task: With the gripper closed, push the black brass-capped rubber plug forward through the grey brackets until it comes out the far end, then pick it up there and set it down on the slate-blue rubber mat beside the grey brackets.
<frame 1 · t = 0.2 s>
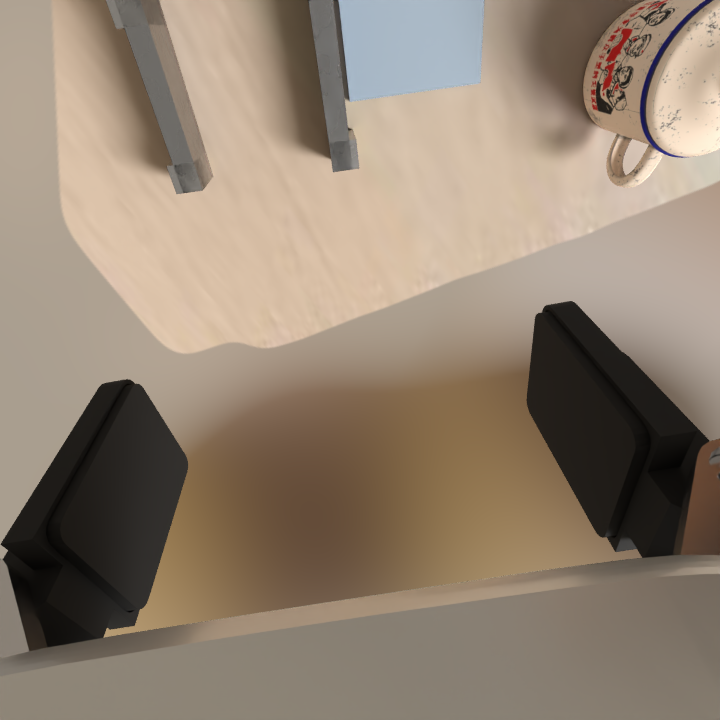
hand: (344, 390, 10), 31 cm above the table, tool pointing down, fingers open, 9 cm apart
teacup with lid: (624, 90, 34), on the table
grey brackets: (253, 83, 32), on the table
mat: (411, 8, 30), on the table
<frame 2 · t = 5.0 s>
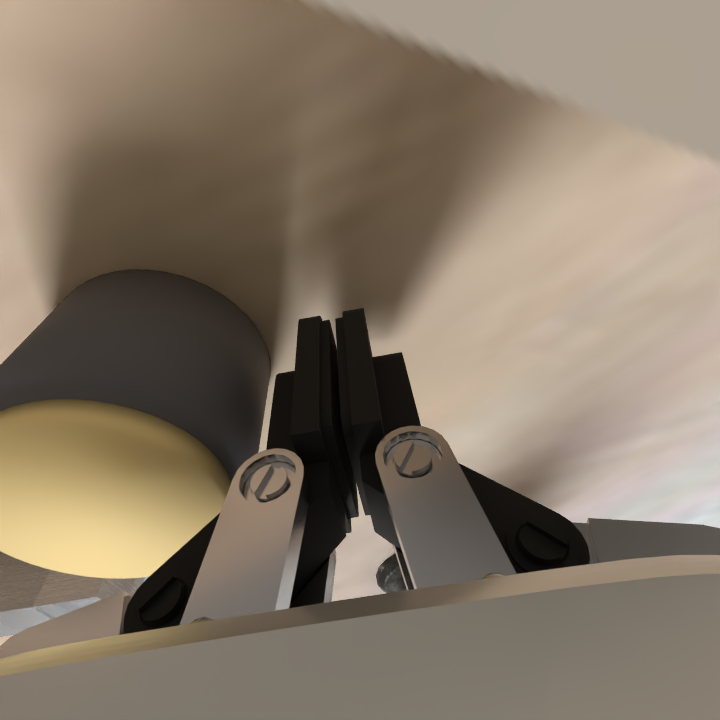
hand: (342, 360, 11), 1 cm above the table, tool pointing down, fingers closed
plug: (166, 363, 13), on the table, touching gripper
dark grey turned post: (427, 568, 22), on the table
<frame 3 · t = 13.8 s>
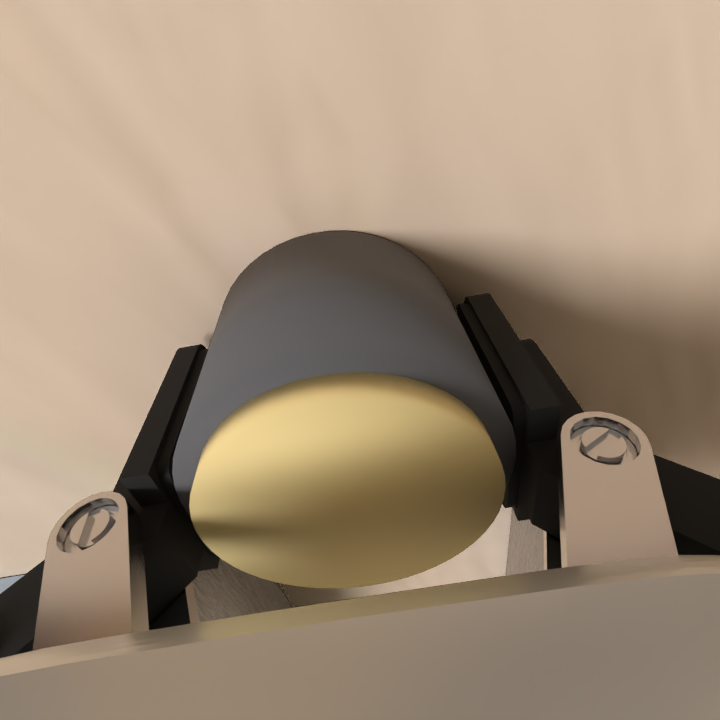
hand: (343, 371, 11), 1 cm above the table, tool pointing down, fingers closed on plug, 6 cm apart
plug: (338, 343, 11), on the table, touching gripper
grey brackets: (387, 545, 17), on the table
when the fingers open (2 cm above the table, at t = 19.2 s): plug stays where it is, resting on mat.
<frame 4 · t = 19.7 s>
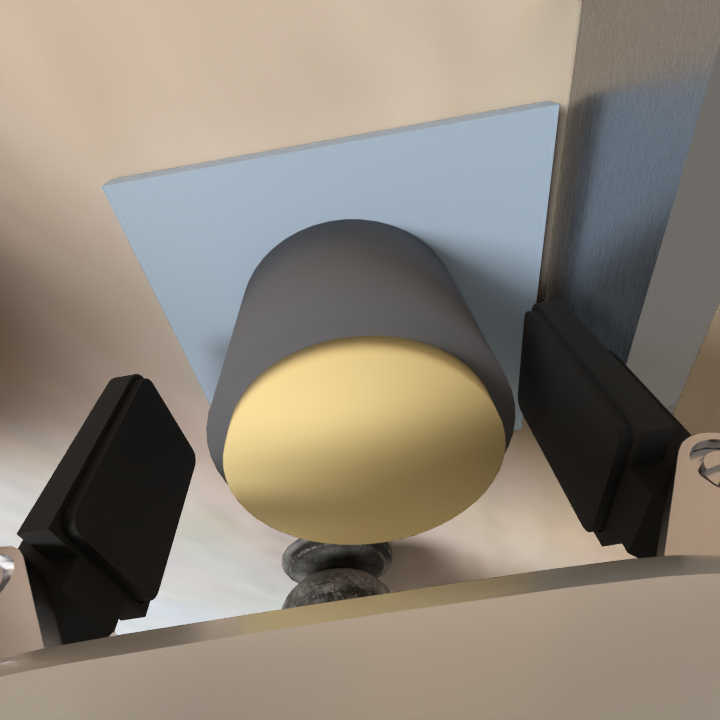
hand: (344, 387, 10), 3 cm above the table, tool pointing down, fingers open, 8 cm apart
plug: (351, 325, 12), point 1 cm above the table, touching mat
dark grey turned post: (337, 555, 21), on the table
mat: (359, 325, 13), on the table
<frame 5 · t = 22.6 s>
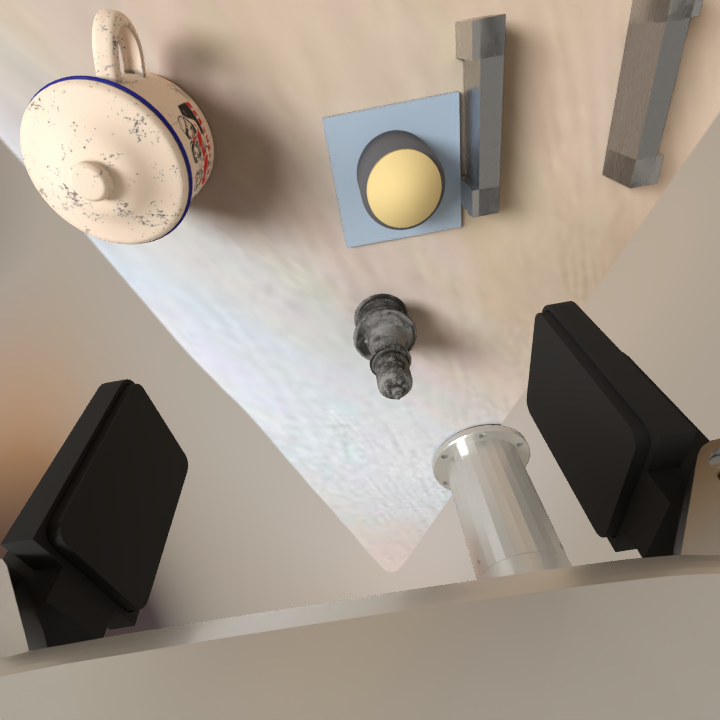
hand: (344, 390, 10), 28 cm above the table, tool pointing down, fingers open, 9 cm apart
teacup with lid: (154, 118, 31), on the table
plug: (394, 172, 34), point 1 cm above the table, touching mat
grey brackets: (550, 103, 32), on the table
dark grey turned post: (380, 316, 43), on the table
mat: (396, 175, 34), on the table
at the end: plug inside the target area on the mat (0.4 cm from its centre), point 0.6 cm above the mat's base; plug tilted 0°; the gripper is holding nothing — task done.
